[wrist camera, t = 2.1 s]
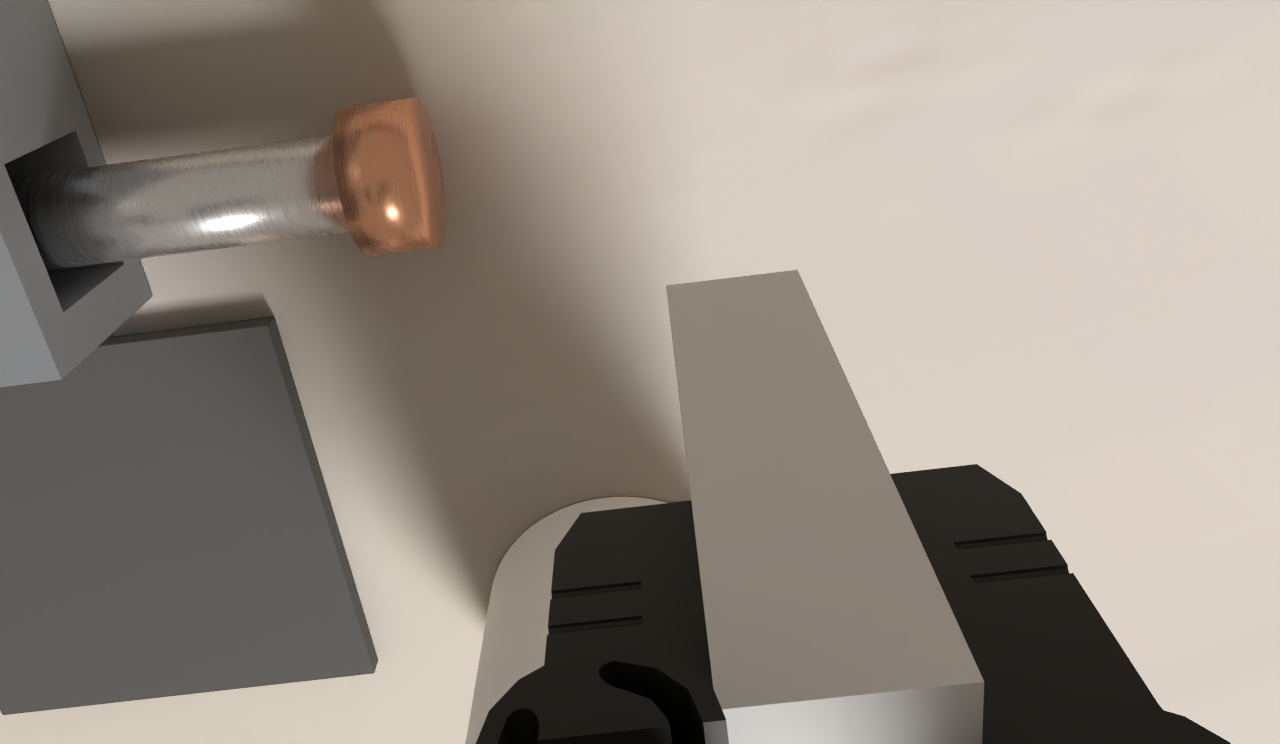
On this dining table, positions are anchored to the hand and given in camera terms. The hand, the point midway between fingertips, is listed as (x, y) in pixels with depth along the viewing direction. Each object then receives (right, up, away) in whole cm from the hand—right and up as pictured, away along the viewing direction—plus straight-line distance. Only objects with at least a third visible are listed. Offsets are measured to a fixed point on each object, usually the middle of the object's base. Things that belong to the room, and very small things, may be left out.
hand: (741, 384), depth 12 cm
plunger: (-11, +5, +13) cm, 18 cm away
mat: (-16, -4, +18) cm, 25 cm away
